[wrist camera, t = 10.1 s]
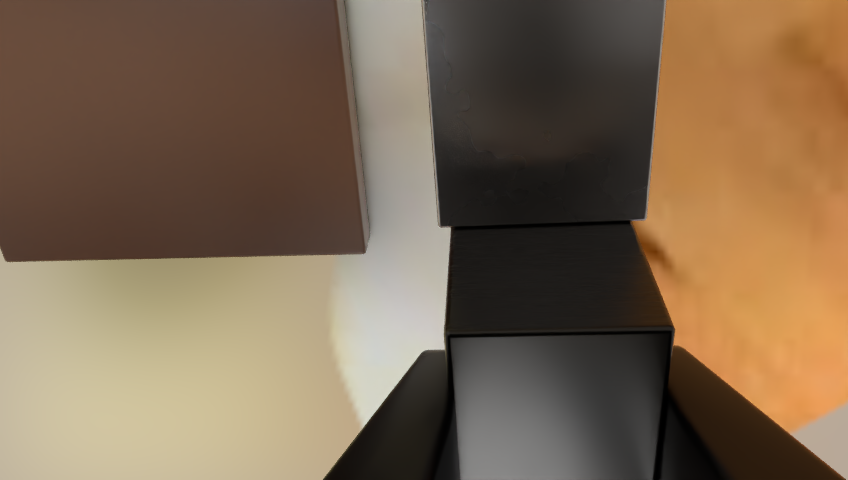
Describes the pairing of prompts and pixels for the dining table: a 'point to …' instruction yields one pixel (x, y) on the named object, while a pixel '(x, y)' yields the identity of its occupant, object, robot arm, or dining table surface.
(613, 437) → the knife
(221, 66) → the board
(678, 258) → the dining table surface
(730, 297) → the dining table surface
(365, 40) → the dining table surface
